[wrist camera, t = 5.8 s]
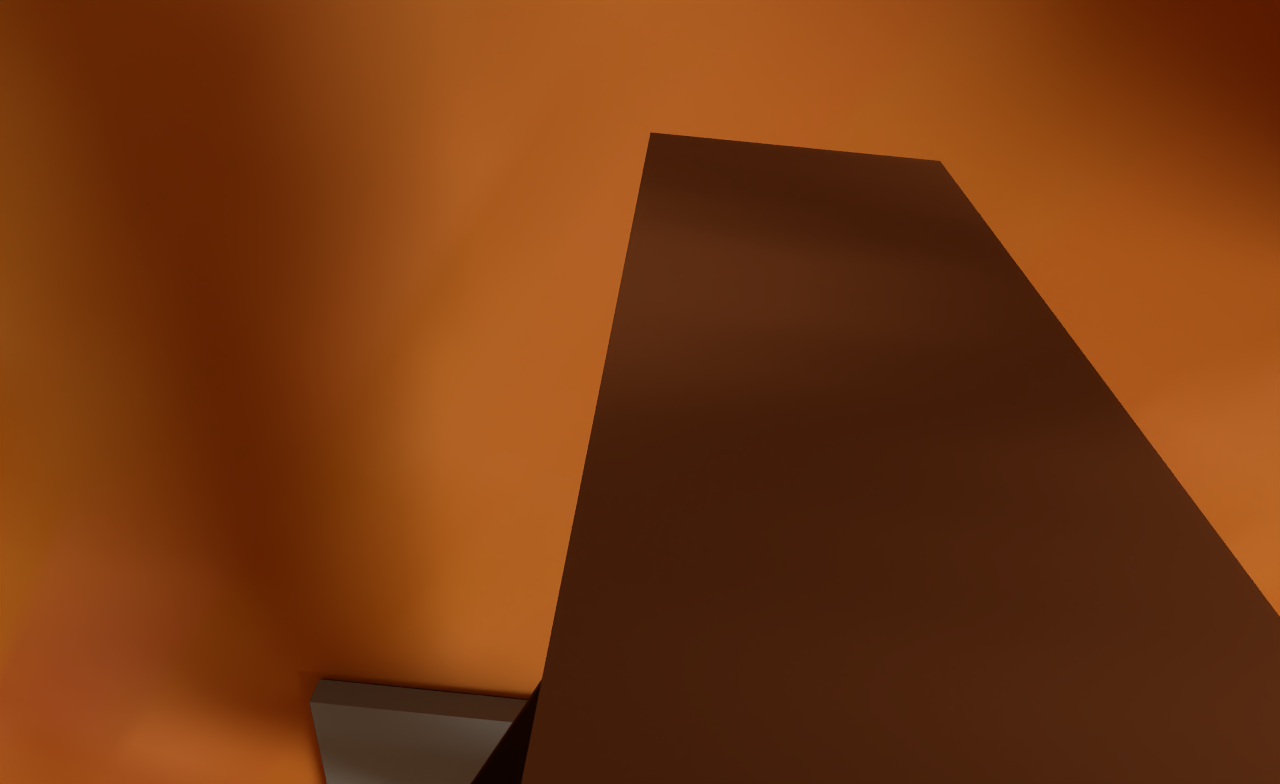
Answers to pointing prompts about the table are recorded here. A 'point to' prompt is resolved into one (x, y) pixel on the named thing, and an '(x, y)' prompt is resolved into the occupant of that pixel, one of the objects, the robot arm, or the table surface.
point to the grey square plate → (406, 733)
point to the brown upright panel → (877, 514)
